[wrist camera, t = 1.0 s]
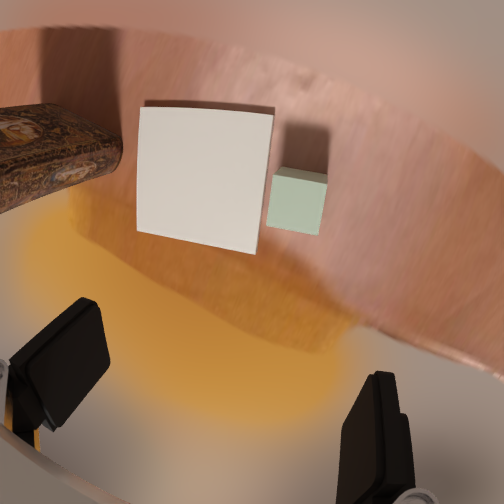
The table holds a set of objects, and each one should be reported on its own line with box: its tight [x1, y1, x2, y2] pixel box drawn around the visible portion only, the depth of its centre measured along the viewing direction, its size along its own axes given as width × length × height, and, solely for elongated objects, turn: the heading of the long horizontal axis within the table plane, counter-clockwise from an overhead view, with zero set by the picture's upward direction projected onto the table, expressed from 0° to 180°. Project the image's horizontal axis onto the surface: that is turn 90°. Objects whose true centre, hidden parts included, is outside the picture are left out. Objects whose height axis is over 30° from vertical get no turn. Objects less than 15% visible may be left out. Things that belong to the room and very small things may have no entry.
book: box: [0, 104, 123, 214], centre depth 26 cm, size 16×6×25 cm, turn 62°
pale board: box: [137, 107, 275, 255], centre depth 36 cm, size 16×16×1 cm
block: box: [266, 167, 327, 236], centre depth 32 cm, size 5×5×6 cm
